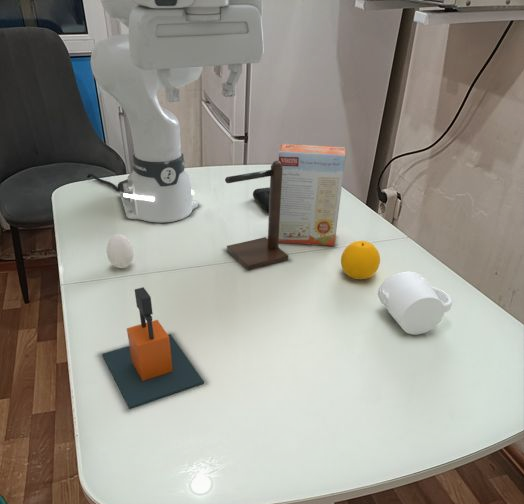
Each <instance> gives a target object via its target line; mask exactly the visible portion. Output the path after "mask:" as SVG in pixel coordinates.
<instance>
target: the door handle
mask: <svg viewBox="0 0 524 504" xmlns="http://www.w3.org/2000/svg"><path fill="white" fill-rule="evenodd" d="M252 197H253V199H254V200H256V201H257V202H258V204H259V205H260V206H261V208H262V209H263V210H264V212H266V213H267V214H269V198H270V186H268V187H260V188H255V189H254V190H253V192H252Z"/></svg>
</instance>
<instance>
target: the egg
mask: <svg viewBox="0 0 524 504" xmlns="http://www.w3.org/2000/svg"><path fill="white" fill-rule="evenodd" d="M106 255H107V259H108V261H109V262H110V264H112V266H114V267H115V268H118V269H125V268H128V267H130V265H131V264H132V262H133V260H134V255H135V254H134V249H133V245H132V243H131V241H130V240H129V239H128V238H127V237H126V236H125V235H123V234H120V233H115V234H114V235H112V236H111V237H110V238H109V240H108V242H107V245H106Z"/></svg>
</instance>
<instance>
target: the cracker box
mask: <svg viewBox="0 0 524 504" xmlns="http://www.w3.org/2000/svg"><path fill="white" fill-rule="evenodd" d="M278 161H279V162H281V164H282V166H283V171H282V188H281V206H280V223H279V241H278V243H284V244H298V245H315V246H328V247H329V246H332V247H334V246H335V244H336V237H337V236H336V235H337V229H338V220H339V214H340V213H339V211H340V203H341V196H342V190H343V189H342V188H343V181H344V171H345V163H346V148H345V146H343V147H341V146H327V145H309V144H308V145H307V144H292V143H291V144H289V143H280V146H279V151H278Z"/></svg>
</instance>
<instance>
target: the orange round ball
mask: <svg viewBox="0 0 524 504" xmlns="http://www.w3.org/2000/svg"><path fill="white" fill-rule="evenodd" d="M380 264H381V256H380V252H379V250H378V248H377V247H376V246H375V245H374V244H373V243H371V242H370V241H366V240H356V241H353V242H351V243H349V244H348V245H347V246H346V247H345V248H344V250H343V252H342V254H341V257H340V265H341V268H342V270H343V272H344V274H345V275H347V276H348V277H349V278H352V279H355V280H367V279H369V278H371V277H373V276H374V275H375V274H376V273H377V272H378V270H379V267H380Z"/></svg>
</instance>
